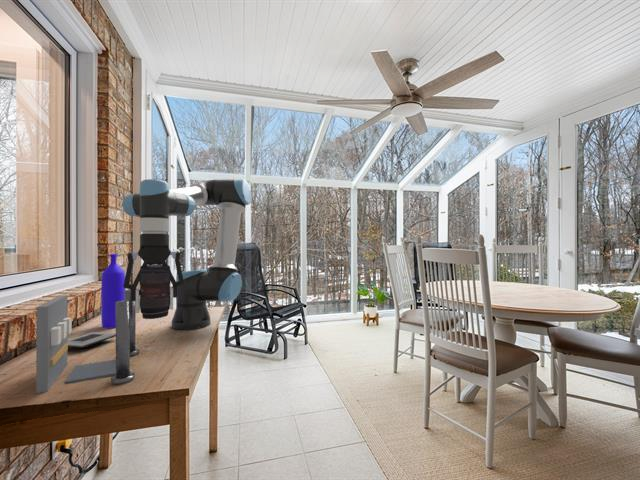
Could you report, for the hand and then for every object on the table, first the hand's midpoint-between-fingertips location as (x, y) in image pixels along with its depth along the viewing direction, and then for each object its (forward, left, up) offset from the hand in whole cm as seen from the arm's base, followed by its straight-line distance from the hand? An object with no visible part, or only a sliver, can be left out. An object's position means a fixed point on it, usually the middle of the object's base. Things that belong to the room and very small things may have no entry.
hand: (155, 310), depth 89 cm
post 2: (+7, -10, -15) cm, 19 cm away
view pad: (+14, 0, -15) cm, 21 cm away
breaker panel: (+23, 0, -15) cm, 27 cm away
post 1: (+7, +10, -15) cm, 19 cm away
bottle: (+16, -51, -15) cm, 55 cm away
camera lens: (0, 0, -2) cm, 2 cm away
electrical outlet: (+17, -24, -15) cm, 33 cm away
